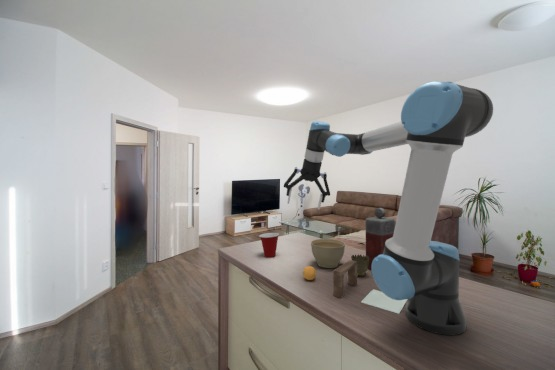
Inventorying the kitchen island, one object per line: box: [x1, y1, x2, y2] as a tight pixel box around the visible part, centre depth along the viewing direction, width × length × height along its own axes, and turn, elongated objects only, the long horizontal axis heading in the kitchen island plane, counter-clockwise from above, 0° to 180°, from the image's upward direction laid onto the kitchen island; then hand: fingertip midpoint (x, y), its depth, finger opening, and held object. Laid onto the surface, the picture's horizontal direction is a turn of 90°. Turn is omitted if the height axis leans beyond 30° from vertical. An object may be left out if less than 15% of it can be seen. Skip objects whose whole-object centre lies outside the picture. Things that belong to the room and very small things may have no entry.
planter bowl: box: [310, 238, 346, 269], centre depth 123 cm, size 16×16×11 cm
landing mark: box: [360, 289, 409, 315], centre depth 87 cm, size 12×12×1 cm
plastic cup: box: [259, 232, 280, 259], centre depth 138 cm, size 11×11×12 cm
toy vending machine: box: [365, 207, 396, 271], centre depth 116 cm, size 9×11×28 cm
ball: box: [302, 265, 317, 281], centre depth 106 cm, size 6×6×6 cm
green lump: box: [350, 254, 369, 277], centre depth 110 cm, size 8×7×8 cm
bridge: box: [332, 259, 358, 299], centre depth 96 cm, size 3×14×9 cm, turn 141°
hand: (303, 205), depth 113 cm, fingers open, 13 cm apart
